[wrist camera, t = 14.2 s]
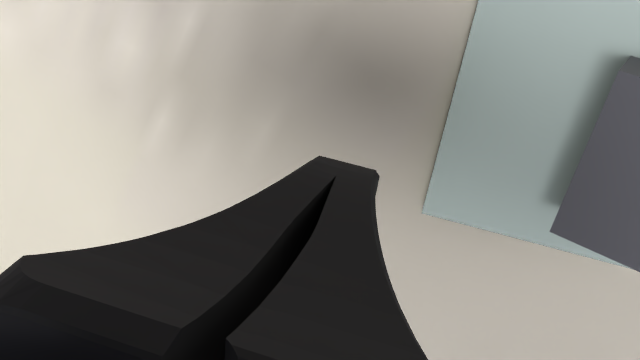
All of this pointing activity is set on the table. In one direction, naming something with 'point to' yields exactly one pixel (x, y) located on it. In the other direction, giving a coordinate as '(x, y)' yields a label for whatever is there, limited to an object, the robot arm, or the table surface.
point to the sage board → (528, 112)
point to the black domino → (609, 178)
